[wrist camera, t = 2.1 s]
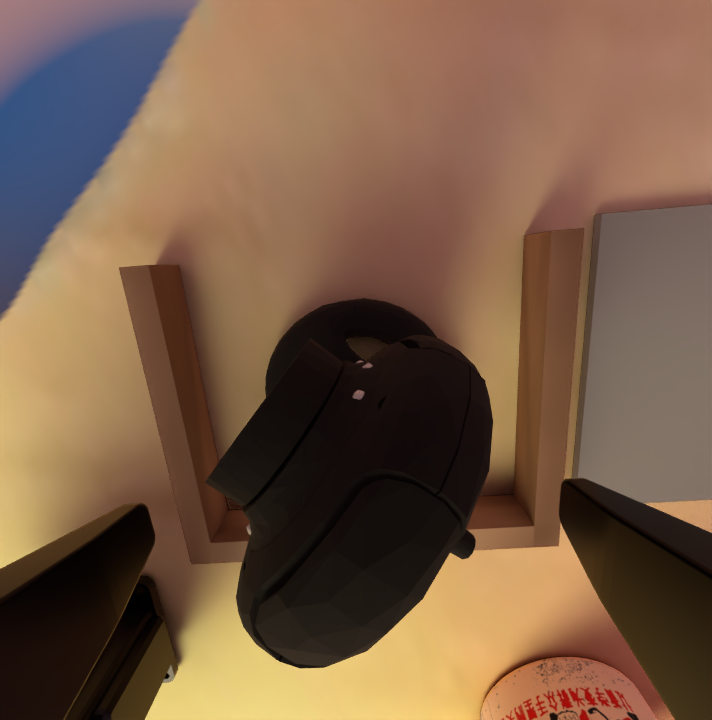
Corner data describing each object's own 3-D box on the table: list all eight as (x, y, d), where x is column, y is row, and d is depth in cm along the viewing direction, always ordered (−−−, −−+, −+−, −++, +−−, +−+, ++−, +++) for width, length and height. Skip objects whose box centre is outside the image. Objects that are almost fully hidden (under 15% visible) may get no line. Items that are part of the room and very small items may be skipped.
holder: (210, 529, 17) (191, 564, 15) (153, 266, 14) (118, 267, 12) (535, 512, 16) (558, 546, 14) (551, 233, 13) (584, 228, 11)
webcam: (342, 253, 14) (291, 231, 4) (490, 369, 15) (737, 577, 5) (233, 406, 15) (10, 653, 6) (373, 499, 16) (386, 842, 7)
